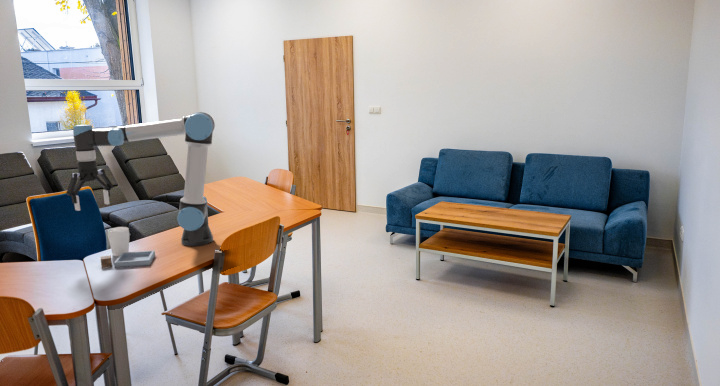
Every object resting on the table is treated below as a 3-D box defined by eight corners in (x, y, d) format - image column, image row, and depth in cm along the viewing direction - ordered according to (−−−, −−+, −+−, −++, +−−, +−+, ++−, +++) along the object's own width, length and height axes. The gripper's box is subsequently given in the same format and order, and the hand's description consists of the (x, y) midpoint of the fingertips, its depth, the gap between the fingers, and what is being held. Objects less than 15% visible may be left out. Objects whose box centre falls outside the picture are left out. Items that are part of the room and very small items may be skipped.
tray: (155, 255, 229) (154, 250, 228) (149, 265, 215) (148, 260, 215) (122, 257, 226) (121, 252, 225) (114, 268, 212) (113, 262, 212)
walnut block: (111, 264, 218) (110, 255, 217) (112, 266, 214) (111, 257, 214) (101, 265, 216) (100, 256, 215) (101, 268, 213) (100, 259, 212)
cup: (118, 250, 236) (116, 226, 234) (135, 251, 234) (133, 227, 232) (105, 256, 228) (102, 231, 225) (122, 257, 226) (120, 232, 223)
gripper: (108, 156, 232) (113, 201, 236) (52, 163, 211) (59, 212, 215) (118, 157, 228) (123, 202, 232) (62, 164, 207) (69, 214, 211)
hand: (92, 207), depth 224 cm, fingers open, 13 cm apart
